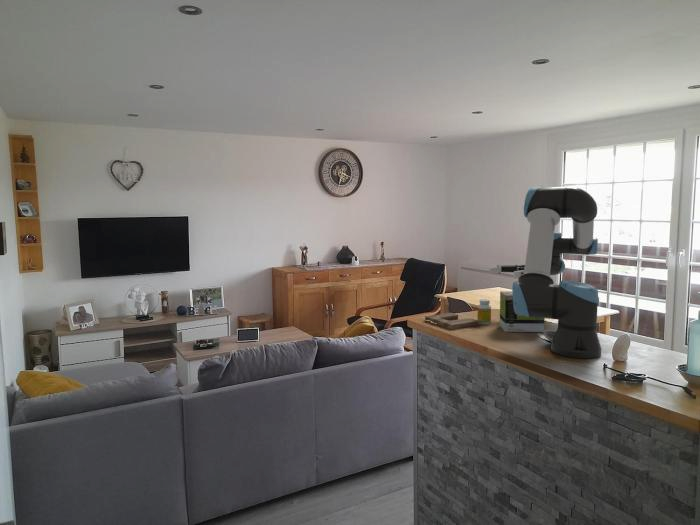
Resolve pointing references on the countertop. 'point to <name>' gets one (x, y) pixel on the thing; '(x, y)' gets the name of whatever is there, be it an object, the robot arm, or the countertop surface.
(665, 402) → the countertop surface
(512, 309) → the tea box
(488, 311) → the supplement bottle
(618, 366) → the countertop surface
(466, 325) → the u-shaped block
